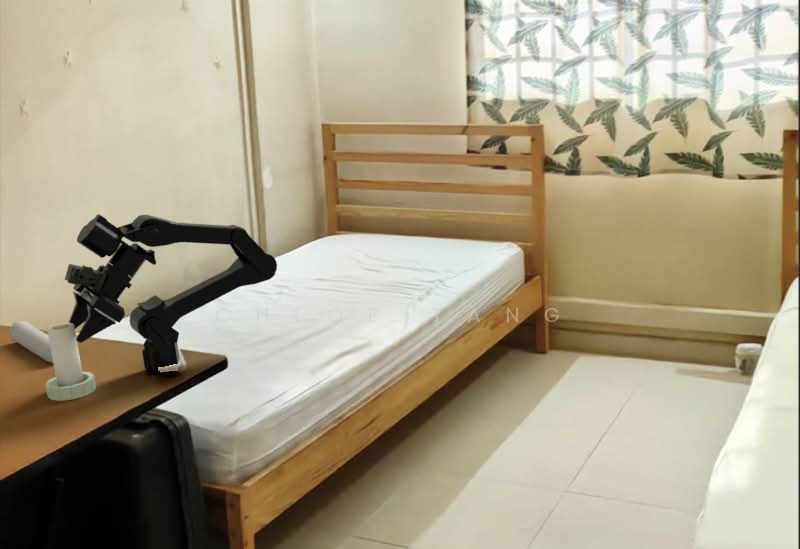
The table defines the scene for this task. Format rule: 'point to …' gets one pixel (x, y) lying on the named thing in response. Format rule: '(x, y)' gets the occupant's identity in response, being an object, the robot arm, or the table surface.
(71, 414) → the table surface
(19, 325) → the tube
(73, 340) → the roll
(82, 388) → the holder
